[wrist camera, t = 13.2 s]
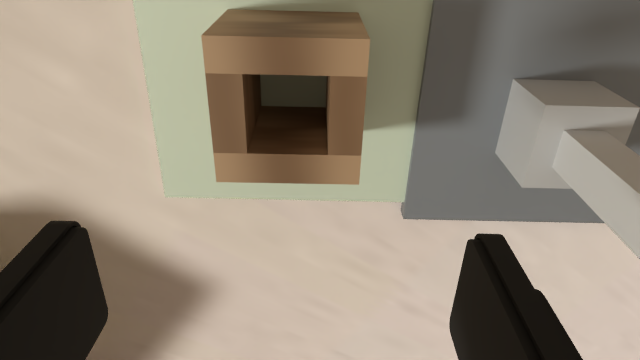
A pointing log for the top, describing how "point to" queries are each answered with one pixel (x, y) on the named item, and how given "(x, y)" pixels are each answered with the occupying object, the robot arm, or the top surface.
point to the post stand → (530, 114)
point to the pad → (282, 95)
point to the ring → (282, 121)
